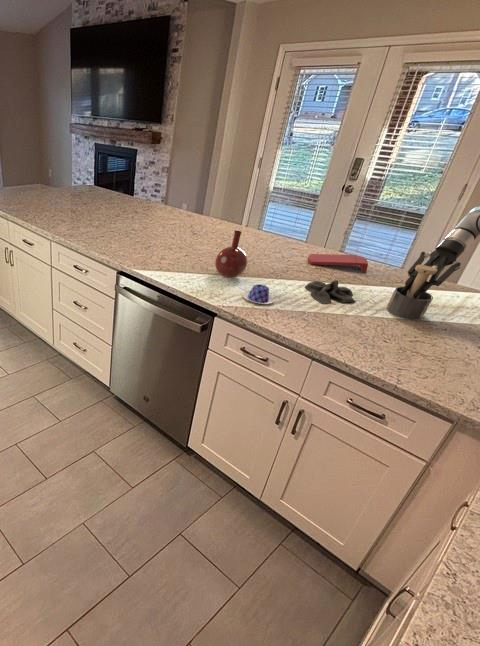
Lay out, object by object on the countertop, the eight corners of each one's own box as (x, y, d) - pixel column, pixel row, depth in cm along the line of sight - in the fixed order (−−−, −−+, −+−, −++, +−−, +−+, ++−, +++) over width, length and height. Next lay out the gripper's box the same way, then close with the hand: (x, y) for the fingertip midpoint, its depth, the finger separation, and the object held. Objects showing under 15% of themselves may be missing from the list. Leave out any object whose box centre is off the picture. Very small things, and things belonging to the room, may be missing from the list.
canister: (427, 314, 159) (437, 295, 154) (416, 322, 152) (426, 303, 148) (393, 302, 166) (402, 284, 162) (381, 310, 160) (389, 291, 155)
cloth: (303, 281, 182) (308, 267, 178) (350, 288, 177) (355, 275, 173) (306, 301, 164) (311, 287, 161) (358, 310, 159) (364, 295, 156)
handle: (399, 300, 161) (417, 263, 153) (418, 305, 157) (438, 268, 149) (397, 304, 158) (415, 267, 149) (416, 309, 154) (436, 272, 146)
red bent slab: (307, 271, 202) (366, 273, 192) (308, 261, 199) (369, 263, 189) (307, 263, 211) (364, 264, 201) (308, 253, 209) (366, 255, 199)
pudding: (245, 290, 171) (248, 278, 168) (275, 296, 167) (279, 284, 164) (240, 301, 162) (243, 289, 159) (271, 308, 158) (275, 295, 155)
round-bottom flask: (232, 269, 190) (242, 226, 179) (249, 281, 179) (261, 235, 168) (207, 272, 186) (215, 228, 175) (223, 284, 175) (233, 237, 165)
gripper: (479, 258, 147) (432, 308, 150) (430, 244, 160) (387, 290, 162) (480, 246, 142) (432, 298, 144) (429, 232, 154) (385, 280, 157)
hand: (408, 294), depth 153 cm, fingers closed on handle, 4 cm apart
